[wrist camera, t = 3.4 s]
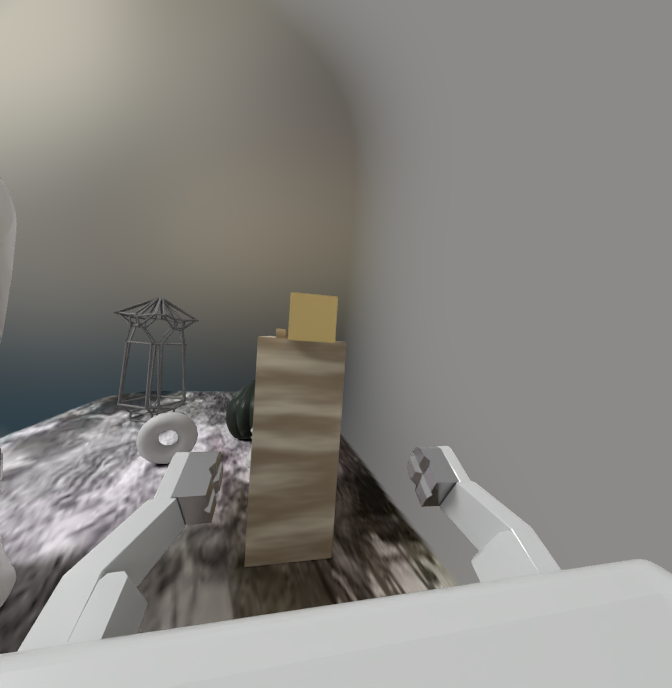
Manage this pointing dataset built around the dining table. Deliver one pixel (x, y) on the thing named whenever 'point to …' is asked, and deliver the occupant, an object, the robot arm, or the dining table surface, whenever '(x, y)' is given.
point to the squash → (241, 412)
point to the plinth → (294, 450)
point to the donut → (156, 425)
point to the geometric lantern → (127, 349)
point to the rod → (312, 317)
